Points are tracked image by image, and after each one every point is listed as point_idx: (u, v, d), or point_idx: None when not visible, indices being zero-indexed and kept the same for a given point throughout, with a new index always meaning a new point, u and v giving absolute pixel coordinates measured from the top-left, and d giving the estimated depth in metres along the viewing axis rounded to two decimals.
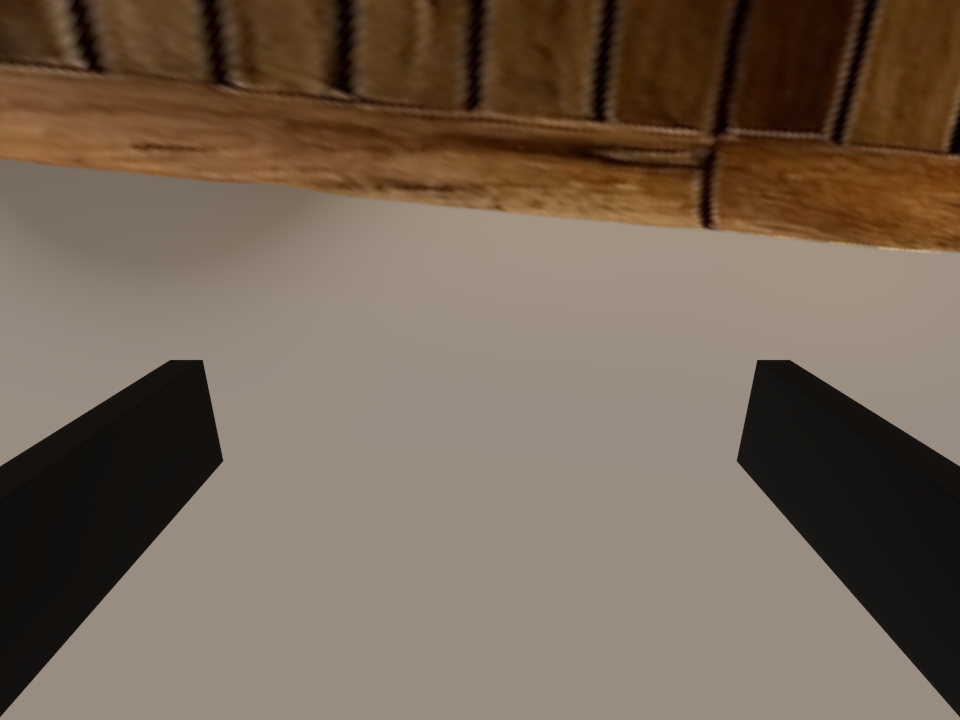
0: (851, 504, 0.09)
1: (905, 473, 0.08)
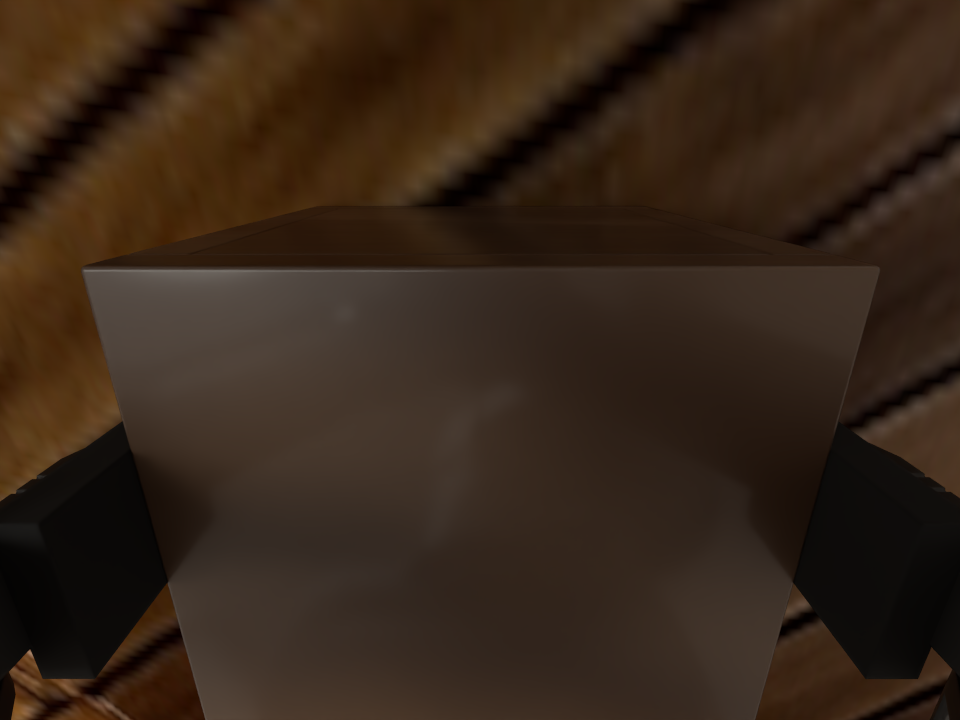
0: None
1: None
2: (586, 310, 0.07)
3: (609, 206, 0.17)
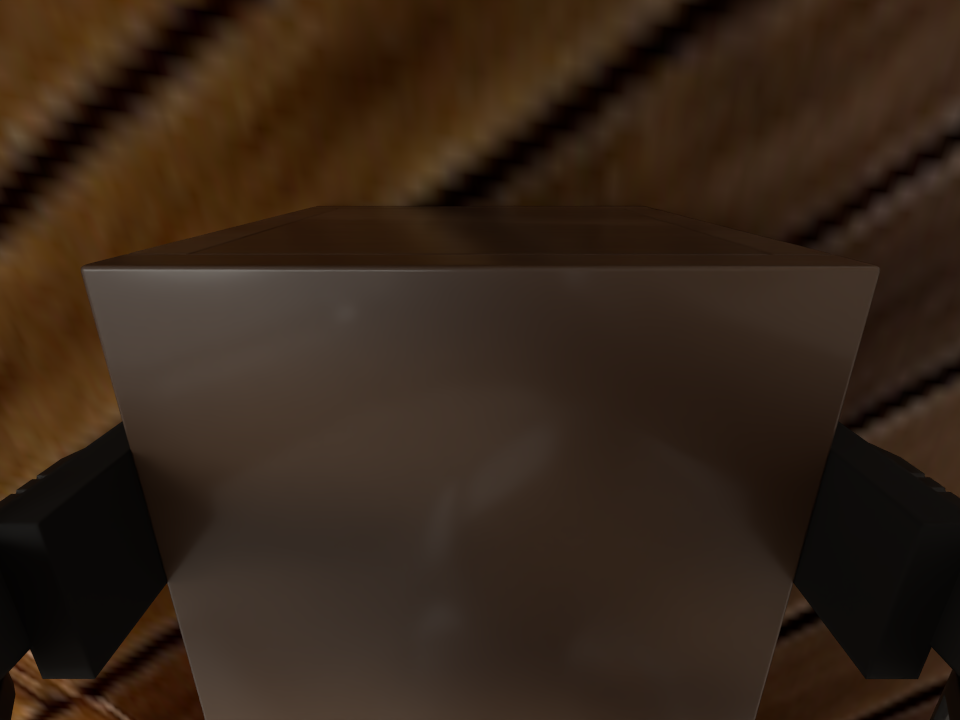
0: None
1: None
2: (586, 310, 0.07)
3: (609, 206, 0.17)
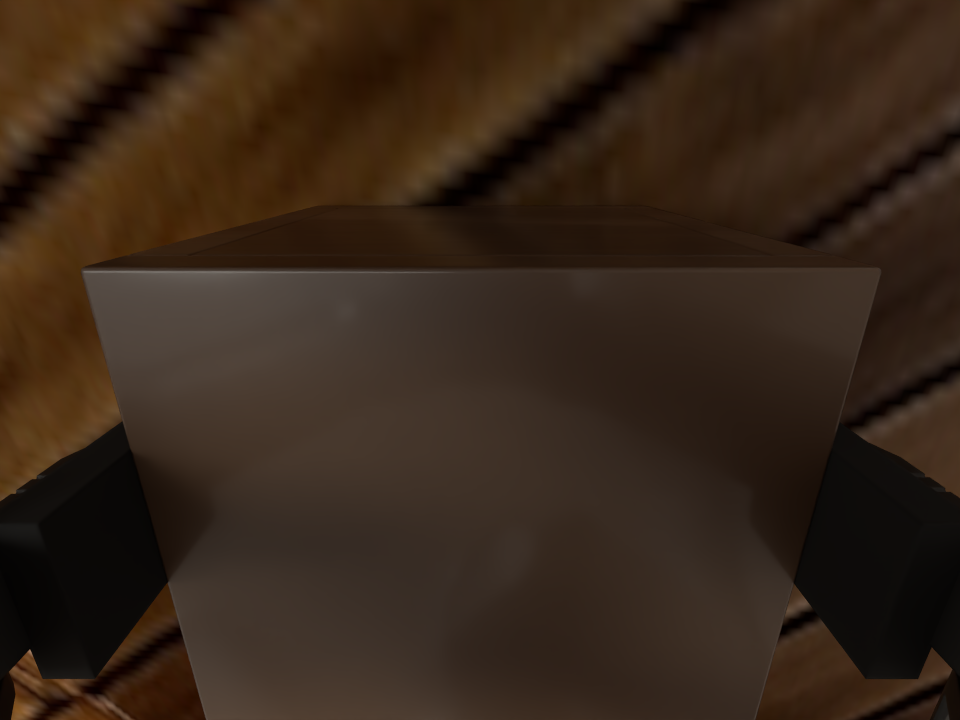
0: None
1: None
2: (586, 312, 0.07)
3: (610, 206, 0.17)
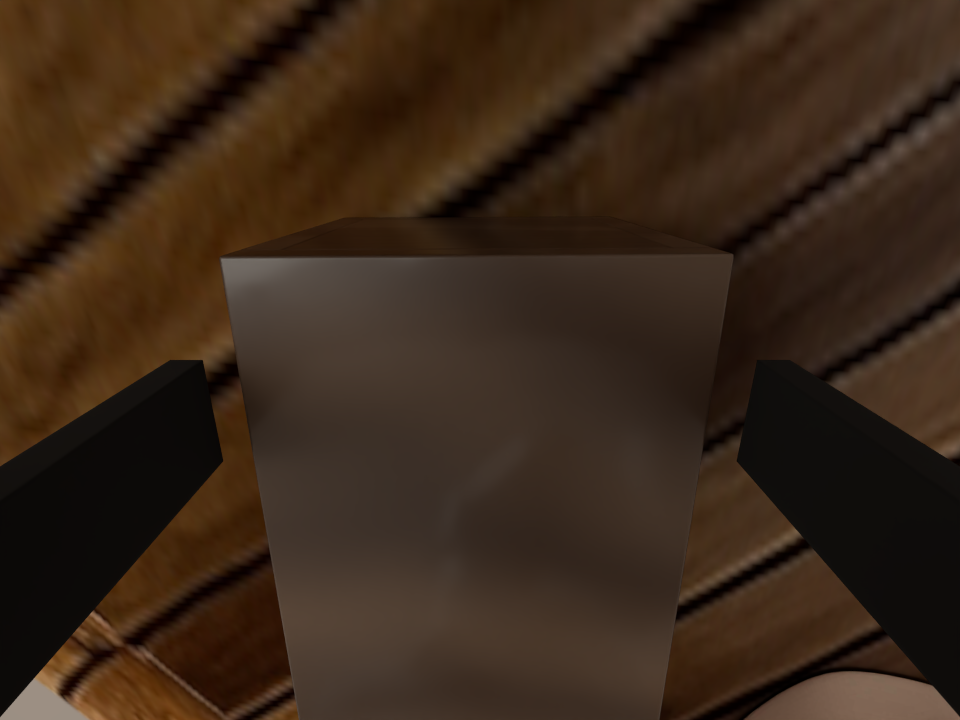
0: (850, 504, 0.09)
1: (905, 473, 0.08)
2: (546, 283, 0.11)
3: None
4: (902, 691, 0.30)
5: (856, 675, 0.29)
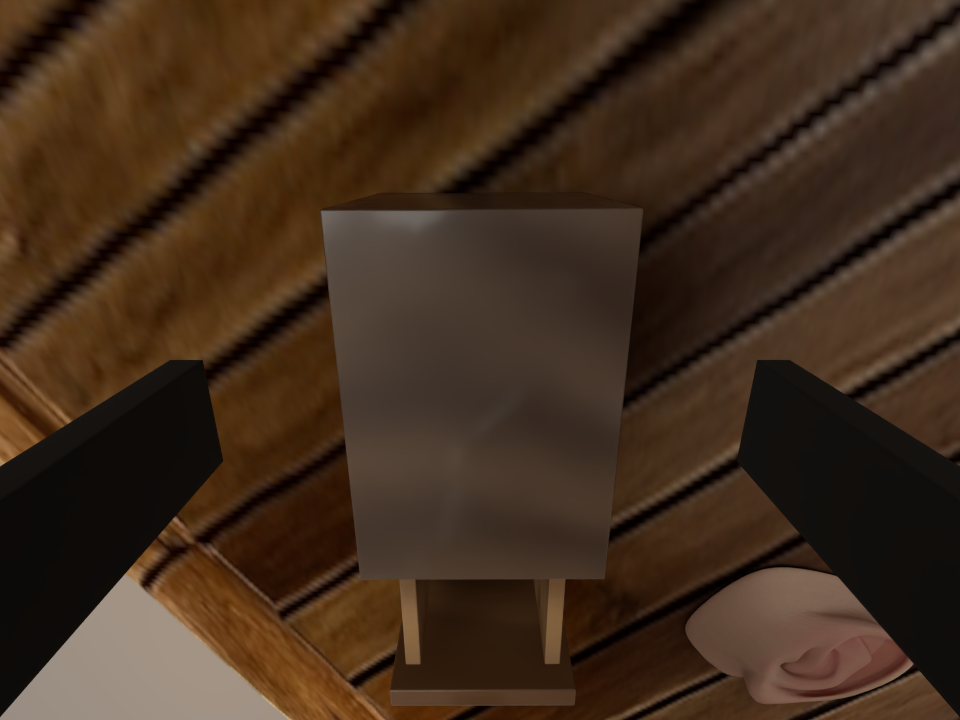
0: (850, 505, 0.09)
1: (905, 473, 0.08)
2: (525, 227, 0.18)
3: None
4: (825, 583, 0.36)
5: (788, 570, 0.36)
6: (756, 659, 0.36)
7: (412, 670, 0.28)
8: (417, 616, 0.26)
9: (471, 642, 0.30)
